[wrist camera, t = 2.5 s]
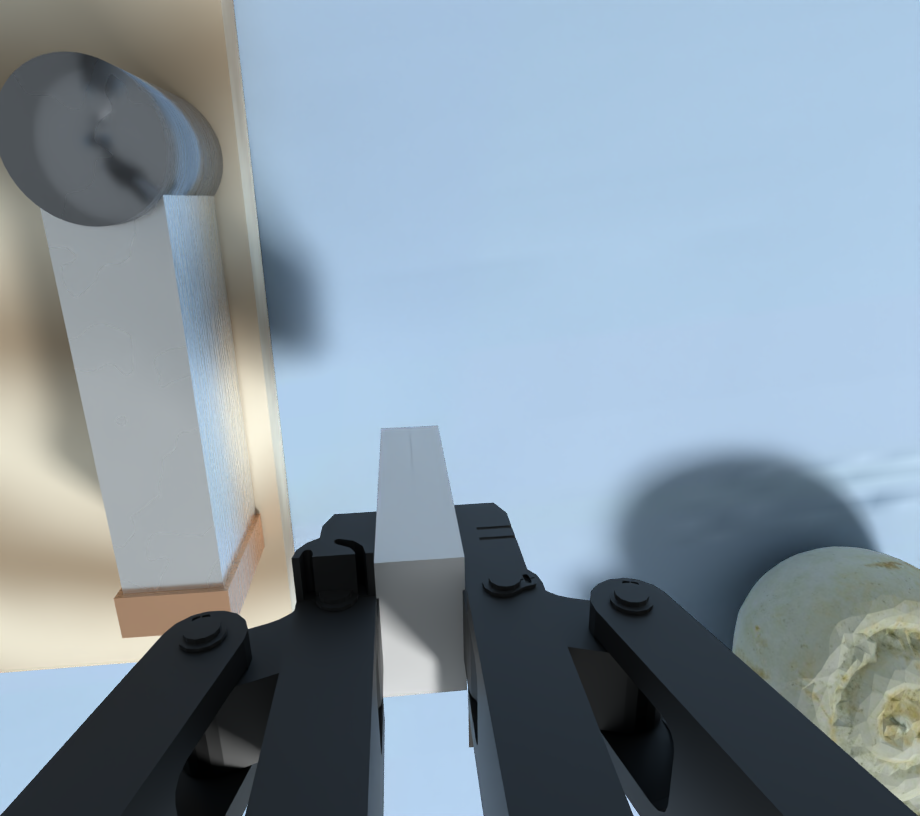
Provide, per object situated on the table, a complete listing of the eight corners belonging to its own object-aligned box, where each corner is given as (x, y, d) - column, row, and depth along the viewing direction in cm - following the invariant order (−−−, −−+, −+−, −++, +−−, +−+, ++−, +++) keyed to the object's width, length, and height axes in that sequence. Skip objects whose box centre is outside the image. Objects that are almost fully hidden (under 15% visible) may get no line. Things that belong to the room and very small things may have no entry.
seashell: (858, 630, 17) (1193, 726, 17) (746, 485, 24) (983, 556, 25) (663, 914, 21) (931, 983, 22) (620, 721, 29) (821, 775, 29)
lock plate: (-414, -208, 14) (-503, -252, 13) (212, -183, 16) (195, -221, 14) (-104, 652, 22) (-138, 683, 21) (302, 622, 23) (296, 649, 22)
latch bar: (84, 89, 16) (-25, 51, 12) (214, 89, 16) (152, 51, 12) (169, 552, 20) (110, 644, 16) (270, 545, 20) (239, 634, 16)
